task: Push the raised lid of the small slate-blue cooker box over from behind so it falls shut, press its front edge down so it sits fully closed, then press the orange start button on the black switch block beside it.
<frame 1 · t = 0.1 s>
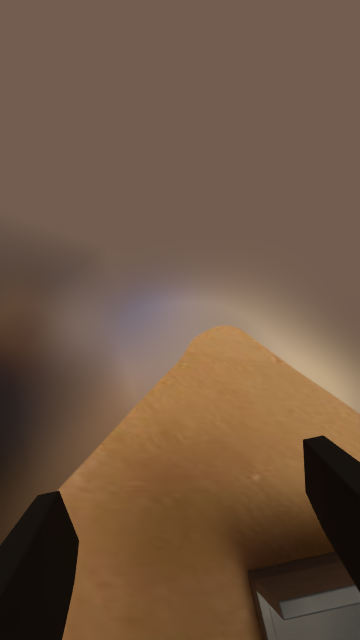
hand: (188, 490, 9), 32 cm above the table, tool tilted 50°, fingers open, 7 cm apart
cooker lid: (343, 578, 23), point 13 cm above the table, hinge at 97.0°
cooker: (324, 638, 31), on the table
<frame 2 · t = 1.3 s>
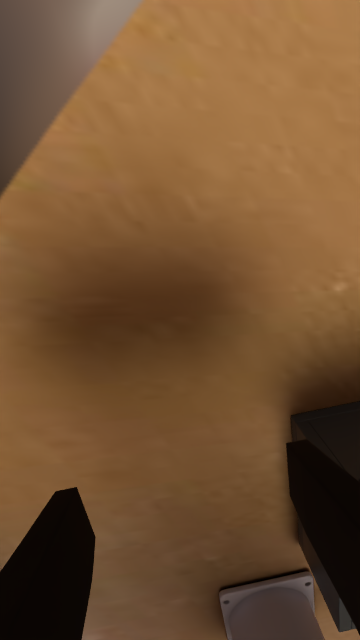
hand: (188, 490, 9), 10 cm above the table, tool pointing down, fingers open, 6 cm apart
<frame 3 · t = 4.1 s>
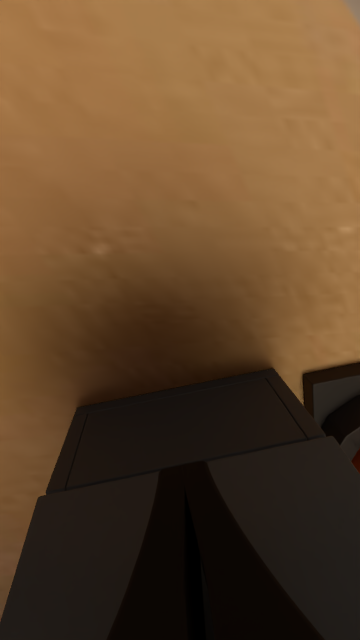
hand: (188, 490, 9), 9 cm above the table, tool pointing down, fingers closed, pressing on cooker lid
switch block: (358, 430, 20), on the table
cooker: (193, 471, 20), on the table
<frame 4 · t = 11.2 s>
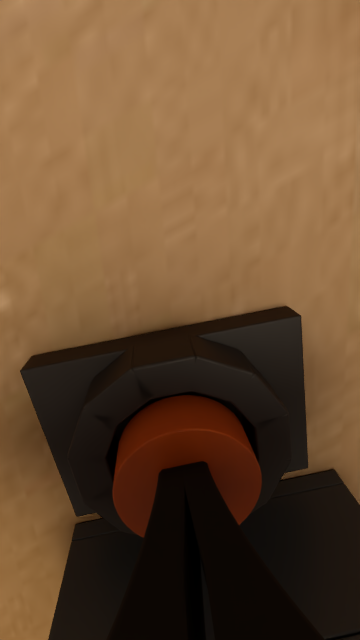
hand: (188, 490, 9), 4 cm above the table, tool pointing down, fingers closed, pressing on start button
start button: (185, 469, 10), point 3 cm above the table, slide at 0.0 cm, touching gripper
switch block: (176, 406, 13), on the table
cooker: (221, 576, 17), on the table
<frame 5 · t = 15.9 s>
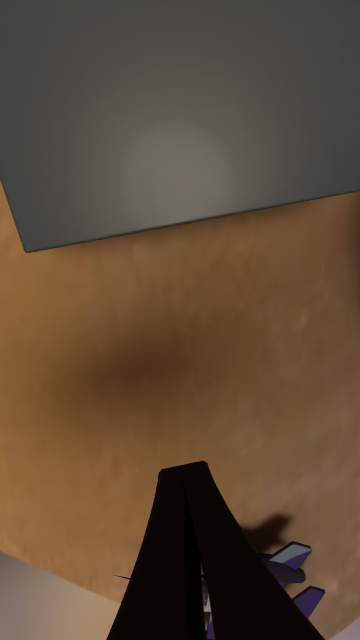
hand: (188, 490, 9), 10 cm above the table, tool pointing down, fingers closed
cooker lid: (196, 3, 9), point 6 cm above the table, hinge at -0.2°
toy airplane: (224, 563, 26), on the table
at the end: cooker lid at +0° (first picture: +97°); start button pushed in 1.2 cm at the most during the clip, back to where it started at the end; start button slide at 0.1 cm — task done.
